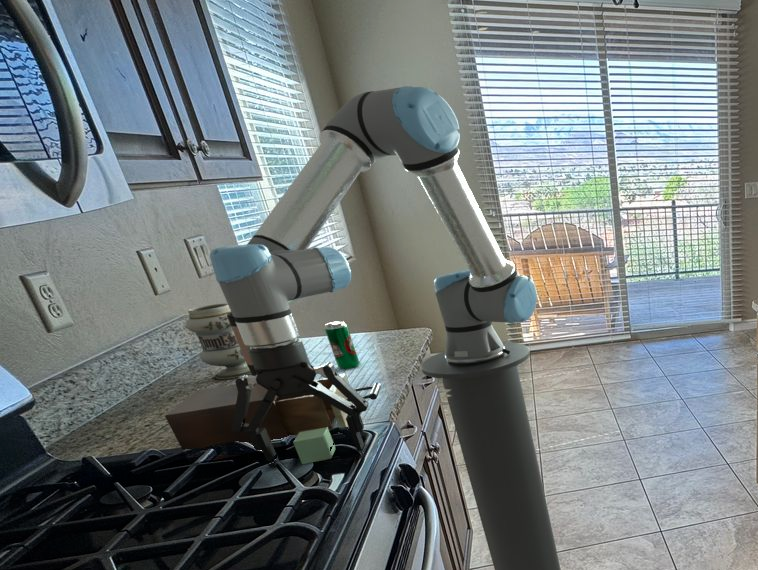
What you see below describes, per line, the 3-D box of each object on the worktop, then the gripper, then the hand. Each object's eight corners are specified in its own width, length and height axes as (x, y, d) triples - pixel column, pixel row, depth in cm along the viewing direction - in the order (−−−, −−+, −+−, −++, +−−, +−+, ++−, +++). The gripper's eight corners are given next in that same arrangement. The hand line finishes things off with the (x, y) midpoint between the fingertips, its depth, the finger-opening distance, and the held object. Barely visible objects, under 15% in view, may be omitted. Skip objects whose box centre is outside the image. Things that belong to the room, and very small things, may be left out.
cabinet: (308, 419, 119) (290, 376, 115) (291, 445, 107) (271, 398, 103) (217, 435, 114) (195, 390, 110) (189, 464, 102) (164, 415, 98)
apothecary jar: (230, 367, 157) (202, 303, 149) (275, 364, 158) (249, 299, 150) (198, 382, 146) (165, 313, 138) (246, 378, 147) (217, 310, 139)
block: (335, 448, 105) (327, 427, 103) (331, 458, 102) (322, 436, 100) (308, 454, 104) (299, 432, 102) (302, 464, 100) (292, 441, 98)
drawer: (389, 402, 123) (378, 368, 120) (382, 423, 113) (370, 386, 109) (277, 421, 116) (262, 385, 113) (259, 445, 106) (241, 407, 103)
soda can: (335, 368, 151) (319, 324, 146) (355, 362, 155) (340, 319, 150) (344, 371, 149) (328, 326, 144) (363, 365, 152) (349, 321, 147)
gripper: (362, 326, 101) (396, 433, 110) (190, 348, 93) (243, 462, 101) (355, 336, 94) (392, 449, 103) (171, 361, 86) (228, 481, 95)
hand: (318, 455), depth 102 cm, fingers open, 13 cm apart
